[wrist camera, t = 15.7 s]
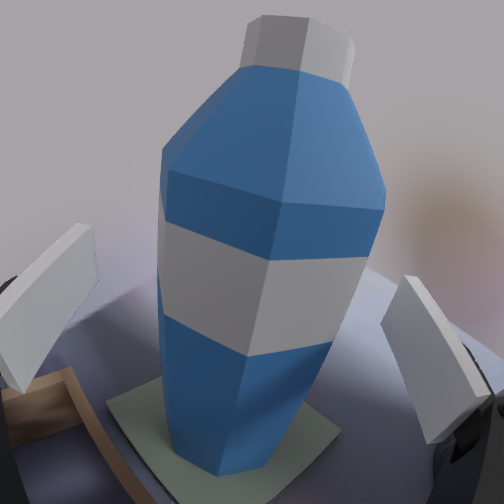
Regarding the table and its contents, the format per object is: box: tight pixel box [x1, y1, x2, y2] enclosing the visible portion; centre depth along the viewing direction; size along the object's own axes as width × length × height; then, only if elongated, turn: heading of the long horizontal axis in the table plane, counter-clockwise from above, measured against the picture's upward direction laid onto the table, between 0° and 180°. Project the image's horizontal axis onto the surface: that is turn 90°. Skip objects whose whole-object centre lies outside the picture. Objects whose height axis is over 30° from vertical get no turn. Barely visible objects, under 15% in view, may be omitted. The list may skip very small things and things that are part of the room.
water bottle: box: [157, 15, 386, 477], centre depth 15 cm, size 9×9×25 cm
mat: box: [105, 376, 342, 504], centre depth 21 cm, size 14×14×1 cm
